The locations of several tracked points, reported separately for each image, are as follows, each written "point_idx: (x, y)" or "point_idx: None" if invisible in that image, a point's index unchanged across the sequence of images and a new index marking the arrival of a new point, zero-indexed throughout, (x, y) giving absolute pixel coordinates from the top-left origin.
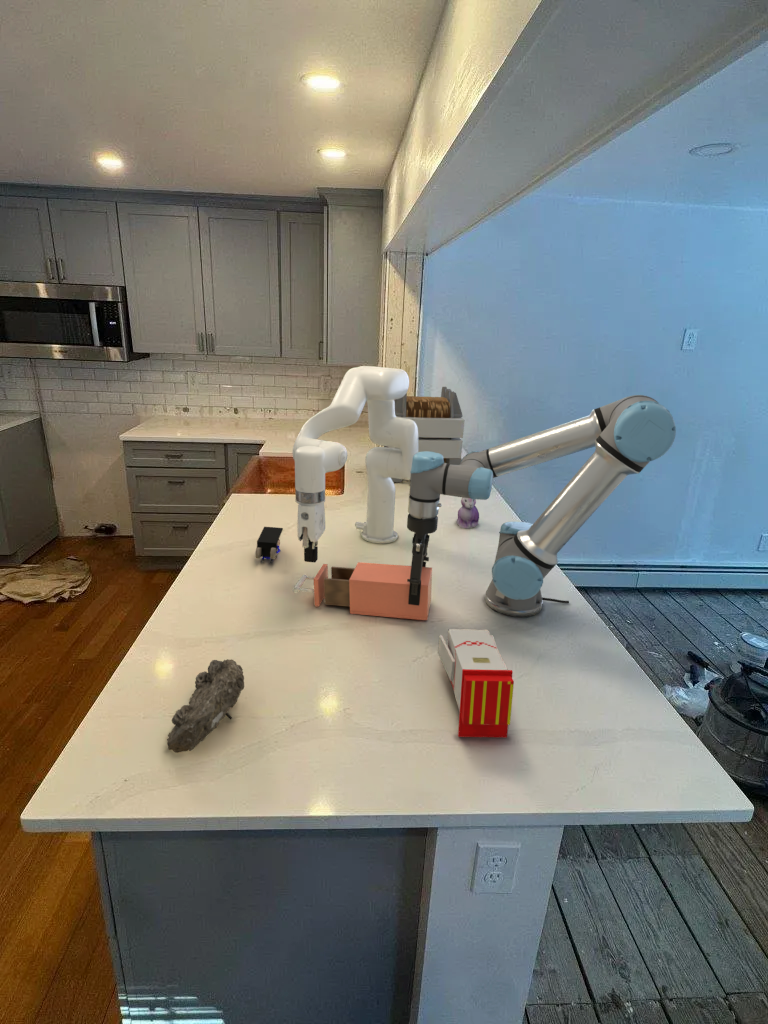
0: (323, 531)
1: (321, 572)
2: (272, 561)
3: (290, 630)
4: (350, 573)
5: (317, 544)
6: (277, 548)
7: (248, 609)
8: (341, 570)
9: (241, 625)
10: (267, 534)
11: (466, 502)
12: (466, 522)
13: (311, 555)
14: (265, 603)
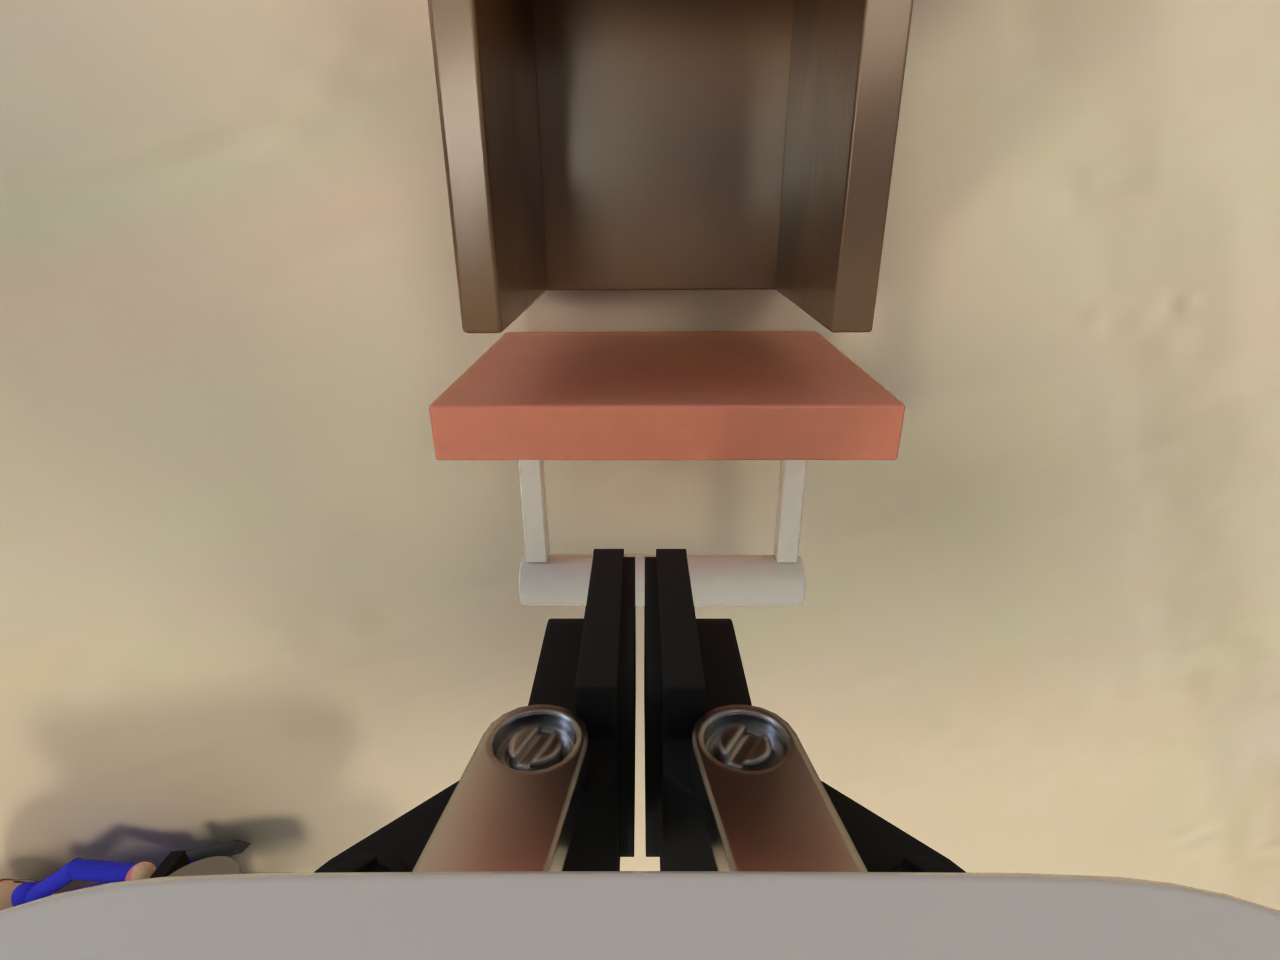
0: (274, 931)
1: (698, 415)
2: (224, 845)
3: (1163, 444)
4: (492, 27)
5: (509, 717)
6: (55, 891)
7: (896, 768)
8: (494, 174)
9: (1097, 743)
10: None
11: None
12: None
13: (740, 670)
14: (801, 705)
